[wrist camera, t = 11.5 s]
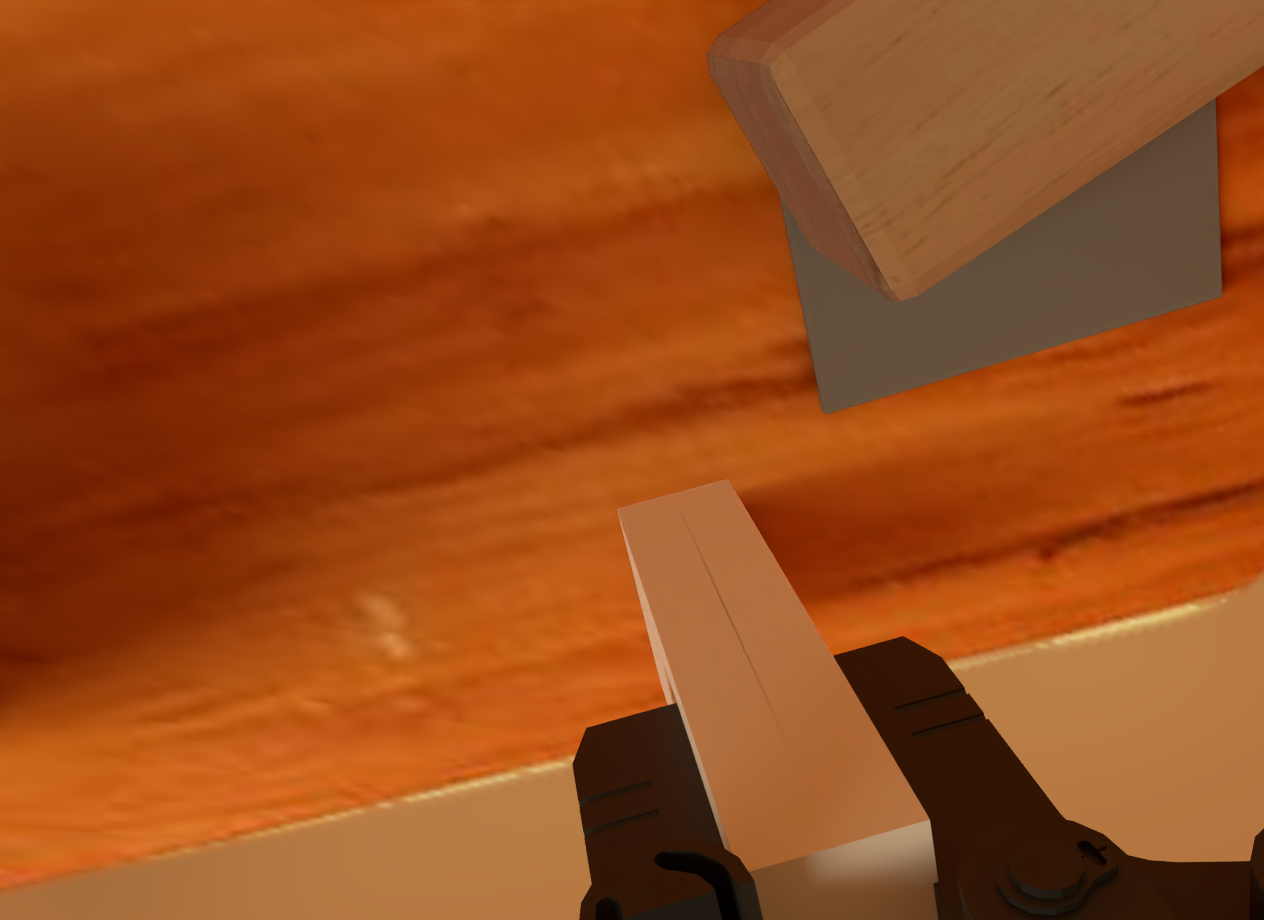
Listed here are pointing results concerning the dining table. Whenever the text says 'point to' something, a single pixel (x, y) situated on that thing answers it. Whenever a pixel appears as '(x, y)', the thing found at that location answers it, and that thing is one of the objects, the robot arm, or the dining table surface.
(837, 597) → the dining table surface
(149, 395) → the dining table surface
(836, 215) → the wooden block
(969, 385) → the dining table surface
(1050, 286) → the mat
